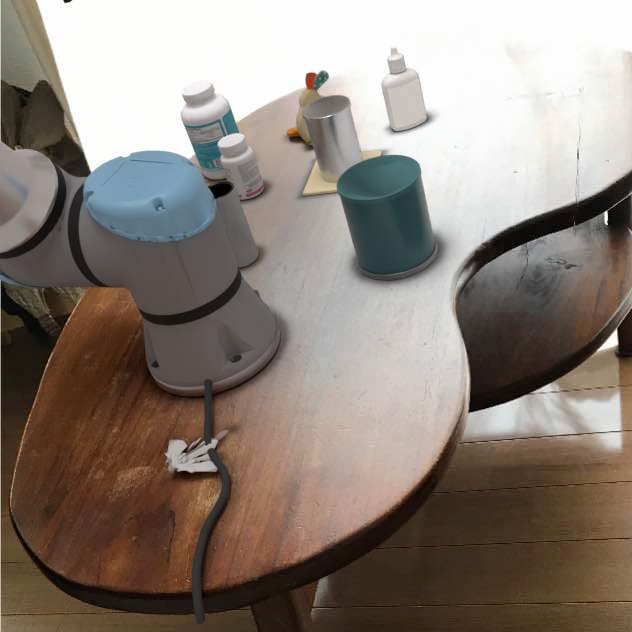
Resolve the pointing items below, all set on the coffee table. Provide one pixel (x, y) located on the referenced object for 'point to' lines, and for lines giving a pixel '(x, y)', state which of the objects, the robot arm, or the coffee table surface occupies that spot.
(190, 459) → the flower
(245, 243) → the grey hollow tube
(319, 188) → the mat
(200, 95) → the pill bottle
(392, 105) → the eye dropper bottle
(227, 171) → the pill bottle
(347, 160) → the cup
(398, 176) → the teal tin can
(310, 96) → the rattle
